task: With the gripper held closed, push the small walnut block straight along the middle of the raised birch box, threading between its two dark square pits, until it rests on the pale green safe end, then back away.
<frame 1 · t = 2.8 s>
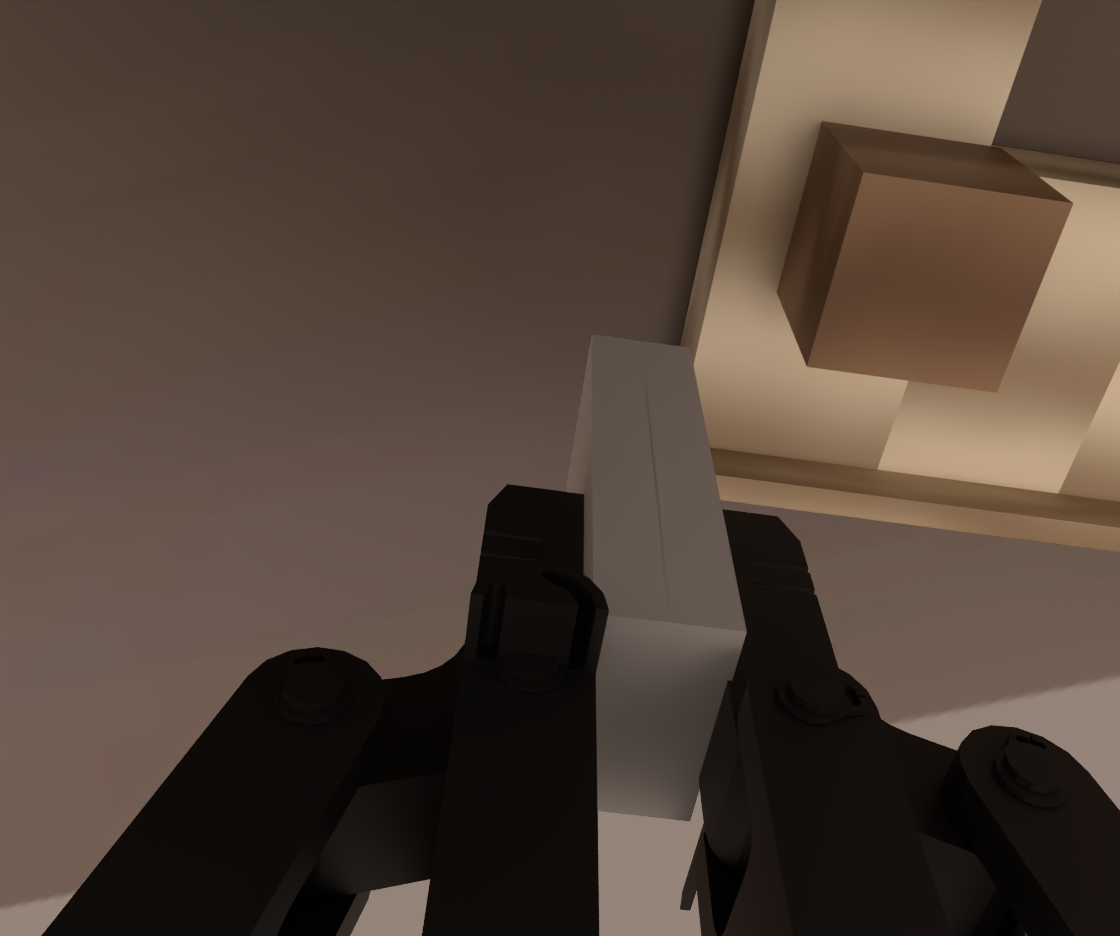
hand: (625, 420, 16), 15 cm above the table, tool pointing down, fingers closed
walnut block: (884, 223, 27), point 3 cm above the table, touching trap box
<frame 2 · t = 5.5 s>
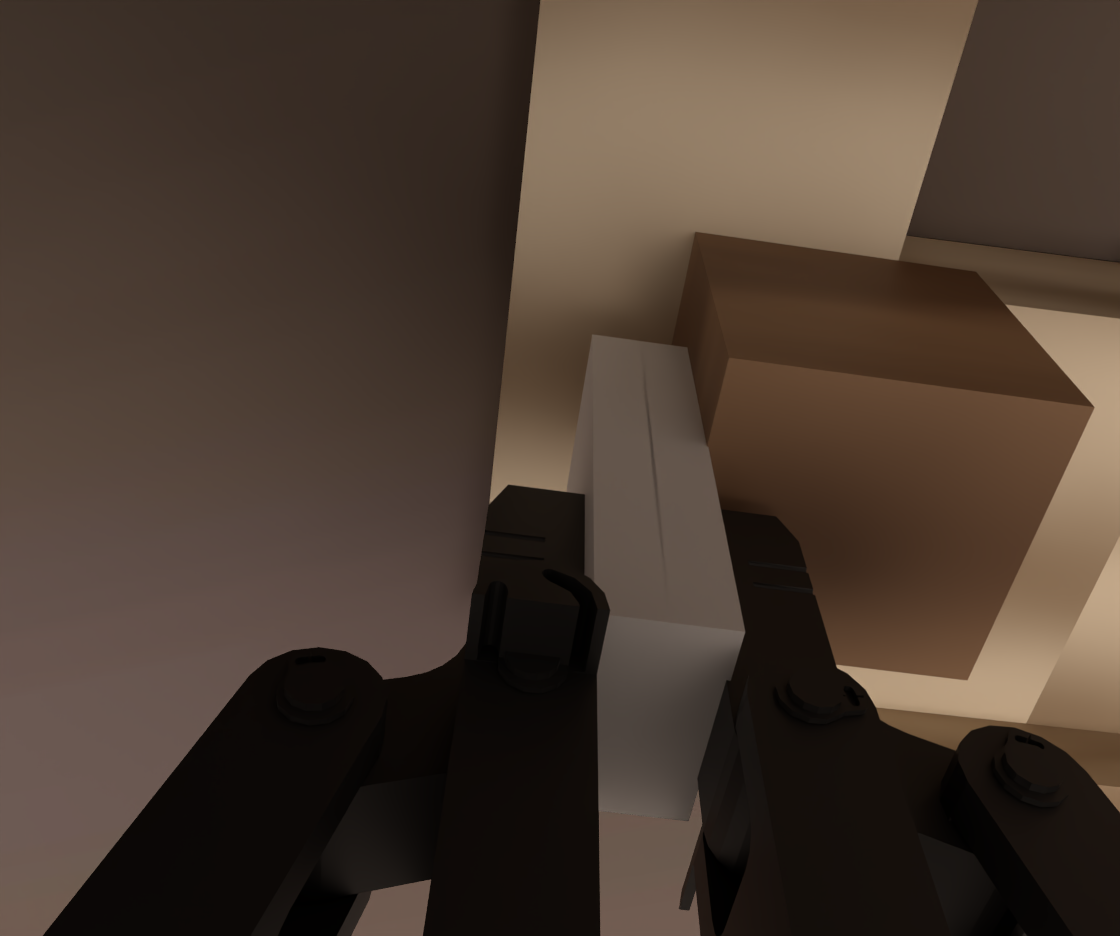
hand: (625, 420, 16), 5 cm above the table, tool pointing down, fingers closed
walnut block: (799, 379, 17), point 3 cm above the table, touching gripper
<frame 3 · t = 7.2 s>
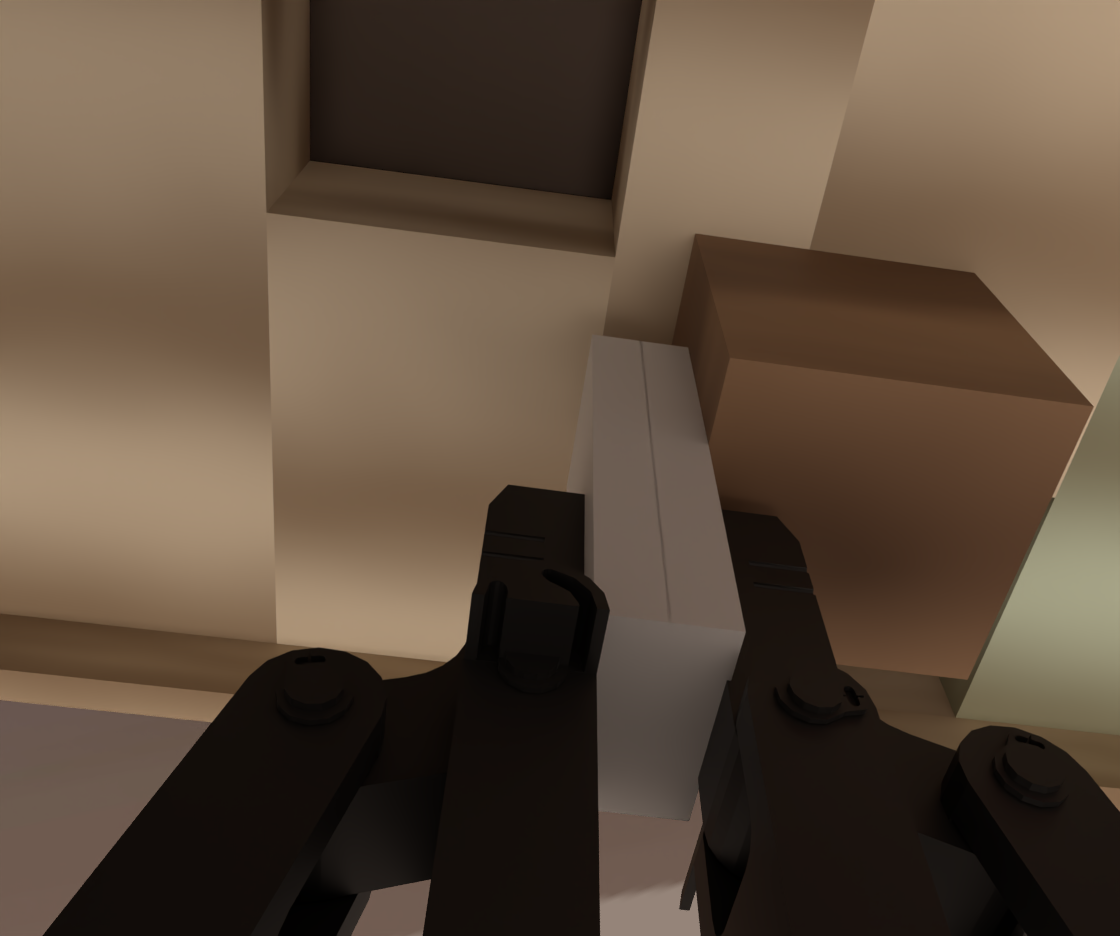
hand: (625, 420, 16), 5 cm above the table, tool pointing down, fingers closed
walnut block: (799, 380, 17), point 3 cm above the table, touching gripper, trap box
trap box: (675, 296, 20), on the table
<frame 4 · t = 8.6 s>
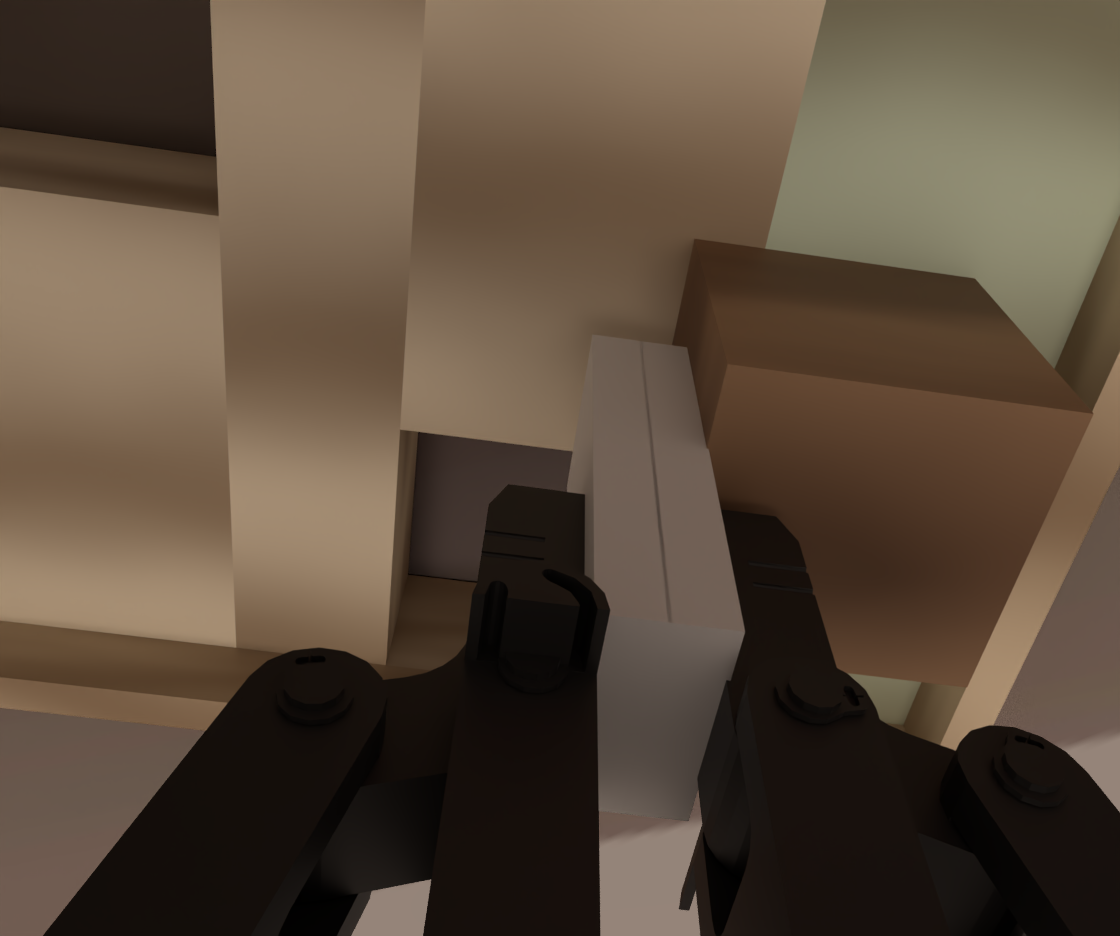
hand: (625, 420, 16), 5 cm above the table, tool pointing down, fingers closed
walnut block: (799, 385, 17), point 3 cm above the table, touching gripper
trap box: (350, 264, 20), on the table
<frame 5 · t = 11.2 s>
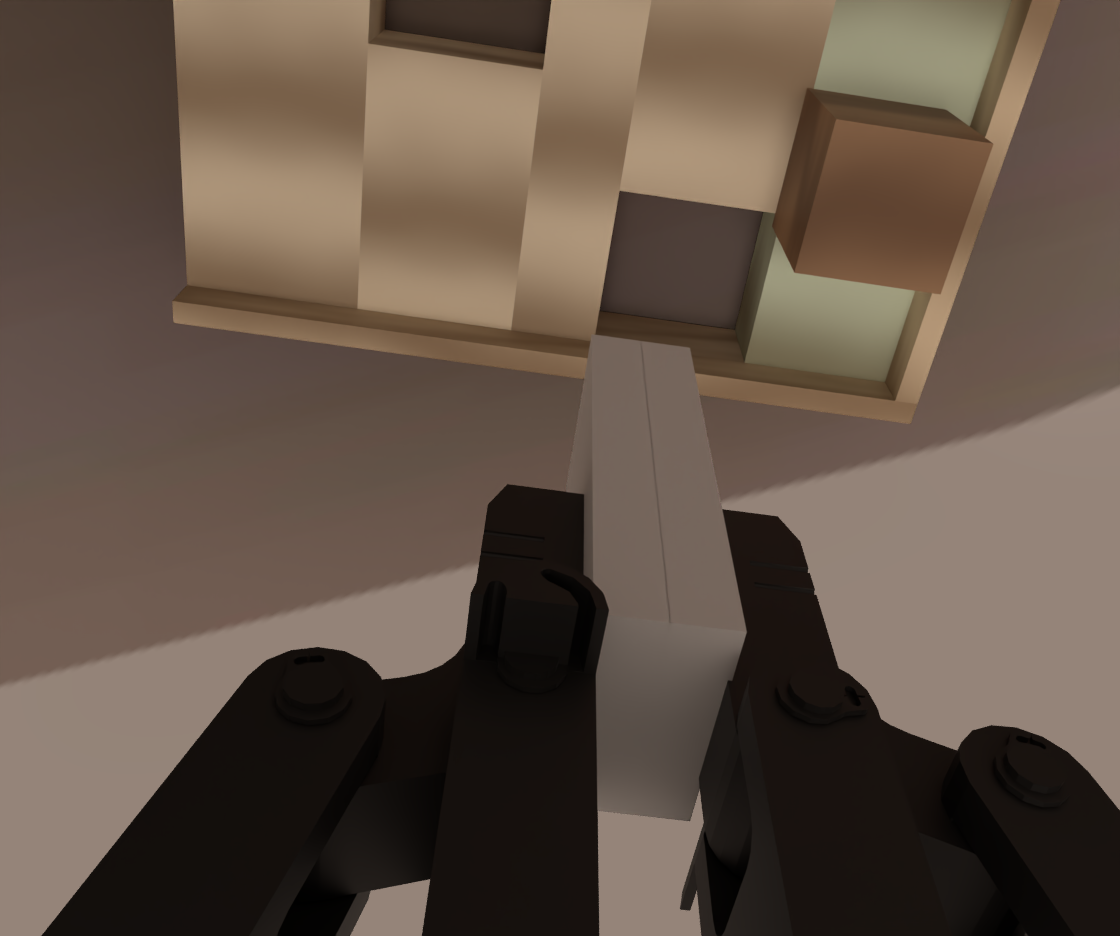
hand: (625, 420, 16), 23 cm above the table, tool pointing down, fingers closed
walnut block: (856, 169, 34), point 3 cm above the table, touching trap box
trap box: (583, 112, 36), on the table
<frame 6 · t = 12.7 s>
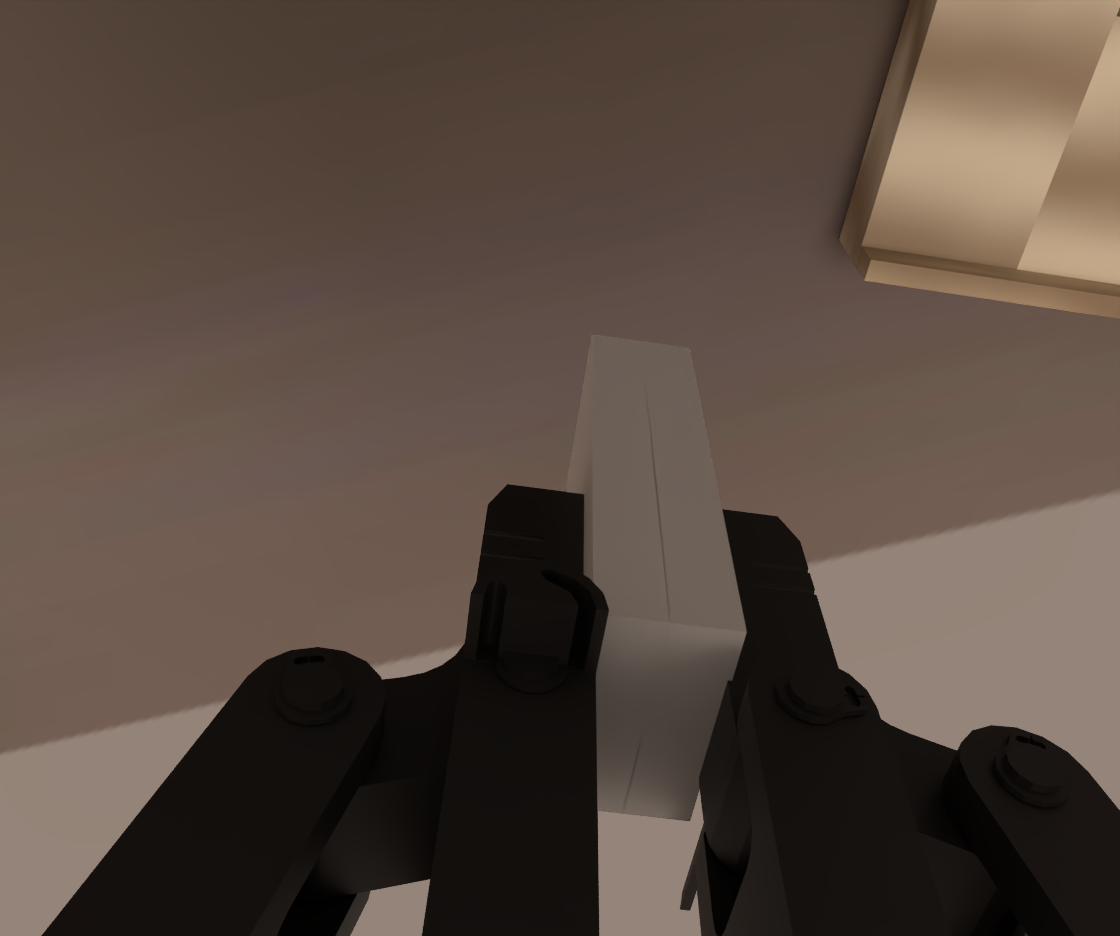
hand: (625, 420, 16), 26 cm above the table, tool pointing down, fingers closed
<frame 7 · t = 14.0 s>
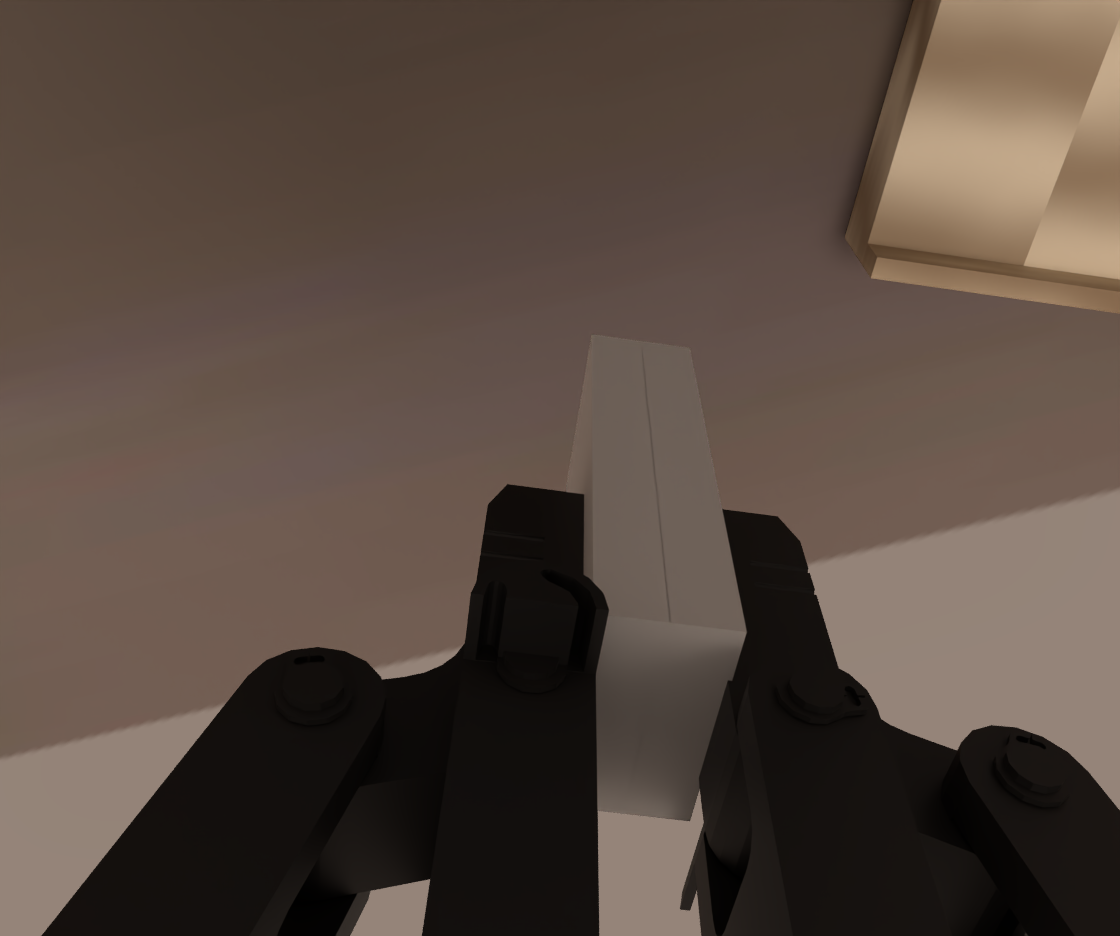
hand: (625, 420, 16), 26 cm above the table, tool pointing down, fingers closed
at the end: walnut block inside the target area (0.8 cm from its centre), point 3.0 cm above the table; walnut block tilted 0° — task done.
